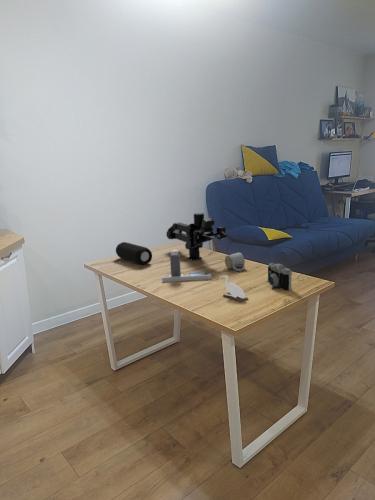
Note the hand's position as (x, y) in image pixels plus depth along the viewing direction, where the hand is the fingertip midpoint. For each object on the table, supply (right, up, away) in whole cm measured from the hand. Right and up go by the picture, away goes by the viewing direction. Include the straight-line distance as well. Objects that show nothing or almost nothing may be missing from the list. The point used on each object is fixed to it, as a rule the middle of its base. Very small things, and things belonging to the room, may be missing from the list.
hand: (219, 237), depth 181 cm
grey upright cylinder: (-21, -19, -7) cm, 30 cm away
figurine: (+2, -26, -33) cm, 42 cm away
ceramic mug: (+9, -16, +4) cm, 19 cm away
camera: (+23, -22, -23) cm, 40 cm away
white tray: (-16, -20, -7) cm, 26 cm away
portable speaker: (-47, -13, +26) cm, 55 cm away
